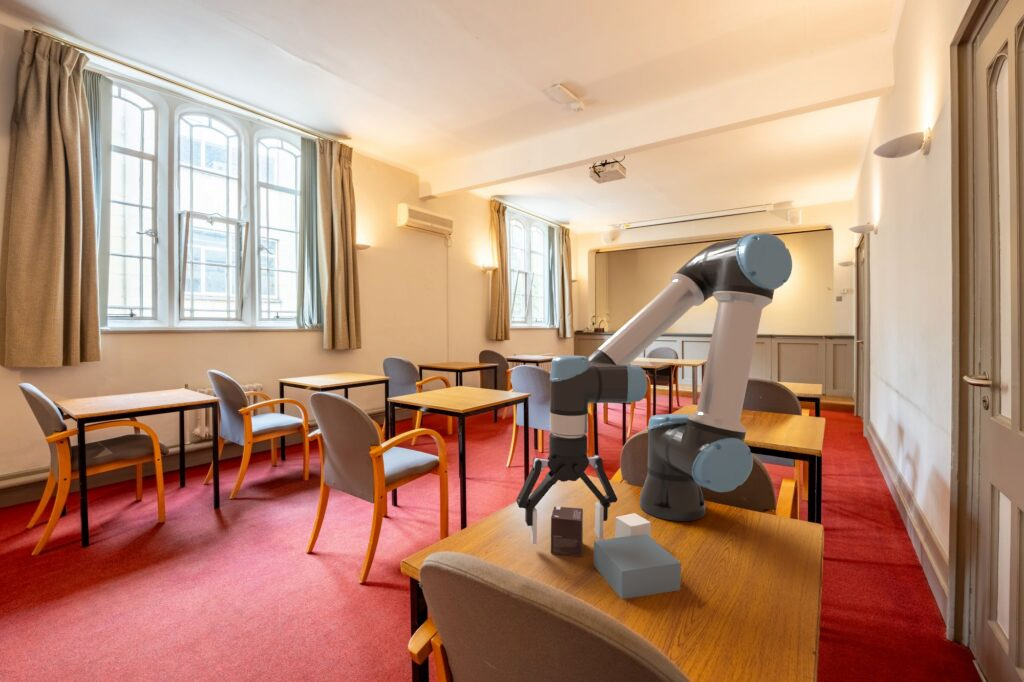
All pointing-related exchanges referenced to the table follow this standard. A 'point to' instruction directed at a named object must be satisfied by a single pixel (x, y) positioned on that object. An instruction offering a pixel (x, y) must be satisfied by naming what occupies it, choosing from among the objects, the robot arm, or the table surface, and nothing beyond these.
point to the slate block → (636, 566)
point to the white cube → (631, 526)
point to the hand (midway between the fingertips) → (566, 538)
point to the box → (567, 531)
